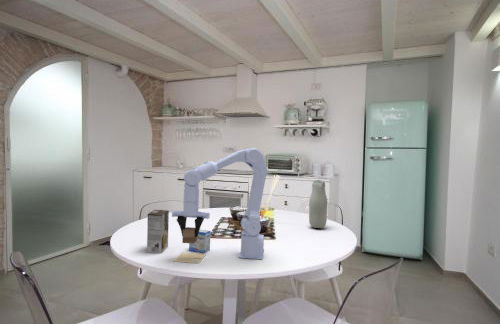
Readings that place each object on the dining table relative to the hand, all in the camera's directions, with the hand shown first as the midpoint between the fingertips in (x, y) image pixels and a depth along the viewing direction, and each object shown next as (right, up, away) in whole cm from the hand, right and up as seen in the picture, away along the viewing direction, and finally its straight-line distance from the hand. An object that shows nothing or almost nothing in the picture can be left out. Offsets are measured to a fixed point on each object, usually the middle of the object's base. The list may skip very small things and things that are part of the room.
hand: (190, 235), depth 118 cm
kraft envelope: (0, -9, +1) cm, 9 cm away
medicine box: (+2, -9, +11) cm, 14 cm away
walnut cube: (0, -2, 0) cm, 2 cm away
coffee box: (-16, -9, +10) cm, 21 cm away
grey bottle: (+62, -10, +57) cm, 85 cm away
